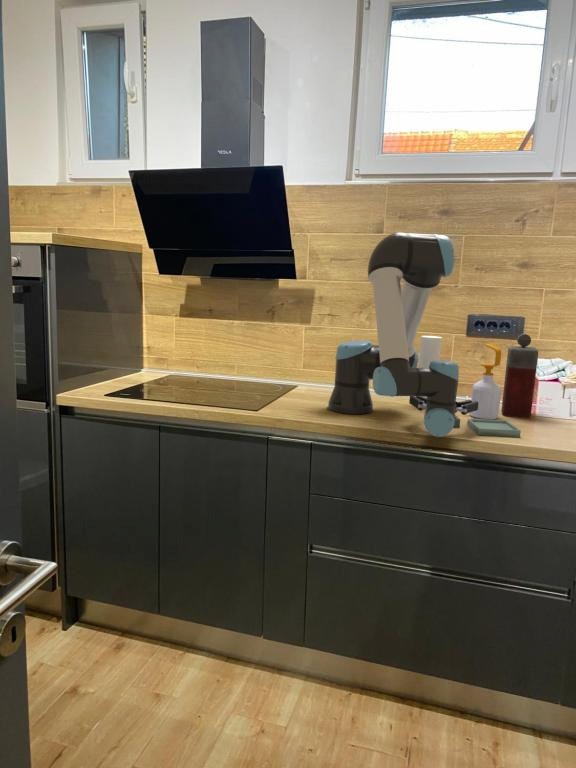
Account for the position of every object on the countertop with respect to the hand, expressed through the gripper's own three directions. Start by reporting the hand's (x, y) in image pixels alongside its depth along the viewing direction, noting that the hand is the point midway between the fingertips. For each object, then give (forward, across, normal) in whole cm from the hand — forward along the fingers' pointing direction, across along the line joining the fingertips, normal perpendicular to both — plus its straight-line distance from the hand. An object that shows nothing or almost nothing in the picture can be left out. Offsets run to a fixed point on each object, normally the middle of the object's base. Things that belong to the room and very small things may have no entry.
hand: (444, 397), depth 180 cm
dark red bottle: (+25, +24, -8) cm, 35 cm away
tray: (-4, +15, -8) cm, 18 cm away
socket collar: (-1, 0, -8) cm, 8 cm away
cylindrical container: (+23, -7, -8) cm, 25 cm away
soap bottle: (+15, +13, -8) cm, 21 cm away
